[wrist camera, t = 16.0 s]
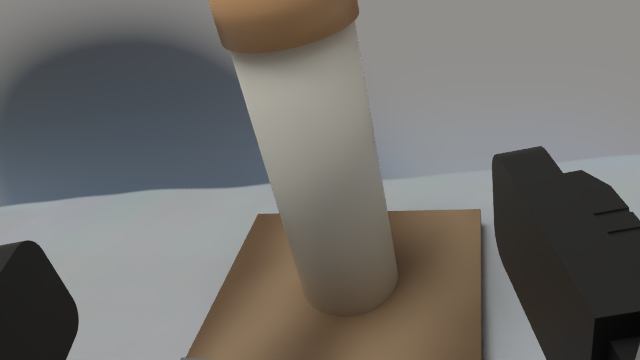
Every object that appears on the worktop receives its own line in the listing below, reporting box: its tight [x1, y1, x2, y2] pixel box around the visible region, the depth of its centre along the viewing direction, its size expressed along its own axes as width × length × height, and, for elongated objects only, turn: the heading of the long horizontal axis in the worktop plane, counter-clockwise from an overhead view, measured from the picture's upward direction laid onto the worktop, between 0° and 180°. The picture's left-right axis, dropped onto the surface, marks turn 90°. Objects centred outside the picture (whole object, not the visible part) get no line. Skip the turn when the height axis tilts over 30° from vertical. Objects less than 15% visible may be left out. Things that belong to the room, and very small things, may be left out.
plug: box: [208, 0, 398, 316], centre depth 22 cm, size 5×5×14 cm
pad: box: [186, 209, 482, 360], centre depth 26 cm, size 12×10×1 cm
